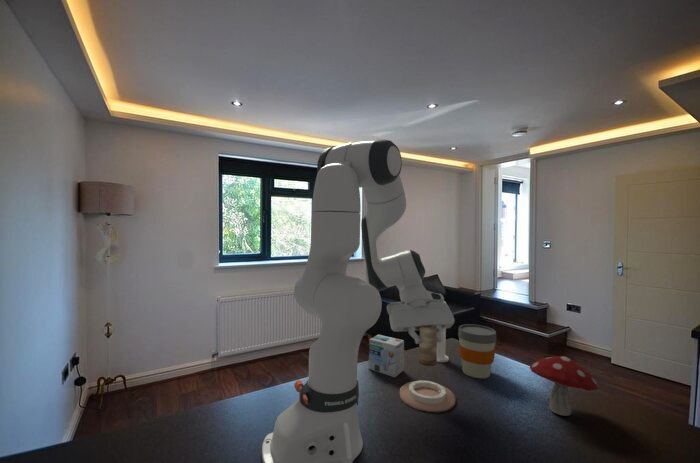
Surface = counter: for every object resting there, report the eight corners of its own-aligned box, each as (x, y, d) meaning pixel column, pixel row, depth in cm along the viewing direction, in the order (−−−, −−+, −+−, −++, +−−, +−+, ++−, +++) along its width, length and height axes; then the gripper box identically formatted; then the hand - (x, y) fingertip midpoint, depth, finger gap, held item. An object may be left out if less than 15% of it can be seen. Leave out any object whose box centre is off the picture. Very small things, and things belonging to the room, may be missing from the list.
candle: (449, 363, 119) (451, 296, 118) (429, 361, 120) (431, 295, 120) (447, 355, 126) (449, 292, 125) (429, 354, 127) (430, 291, 127)
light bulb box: (367, 369, 112) (368, 338, 112) (377, 362, 118) (378, 333, 118) (395, 377, 106) (396, 345, 106) (404, 370, 112) (404, 340, 112)
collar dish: (419, 417, 84) (419, 408, 84) (389, 388, 99) (390, 380, 99) (467, 405, 90) (467, 397, 90) (433, 380, 105) (433, 373, 105)
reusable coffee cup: (491, 366, 116) (492, 325, 116) (499, 383, 104) (500, 337, 104) (455, 362, 119) (456, 322, 119) (458, 378, 107) (460, 333, 107)
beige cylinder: (425, 367, 91) (426, 332, 91) (415, 360, 96) (416, 326, 96) (440, 364, 93) (441, 330, 93) (429, 357, 98) (430, 325, 98)
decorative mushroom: (520, 393, 98) (522, 344, 98) (578, 399, 95) (580, 349, 95) (542, 424, 82) (543, 366, 82) (612, 433, 79) (614, 373, 79)
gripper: (387, 297, 99) (399, 339, 89) (447, 294, 103) (464, 335, 94) (382, 308, 103) (393, 349, 94) (440, 305, 108) (455, 344, 98)
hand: (429, 342), depth 94 cm, fingers closed on beige cylinder, 5 cm apart
